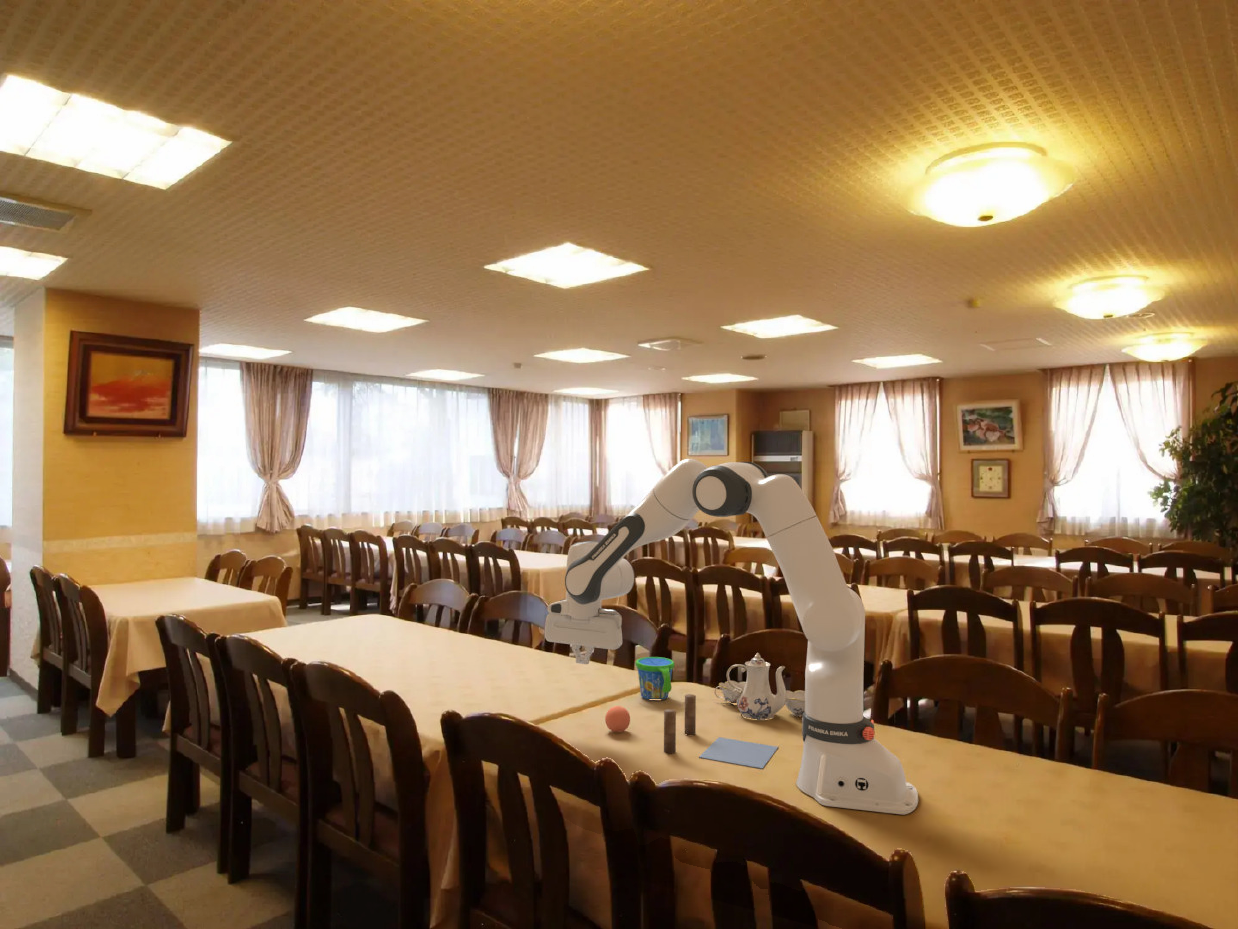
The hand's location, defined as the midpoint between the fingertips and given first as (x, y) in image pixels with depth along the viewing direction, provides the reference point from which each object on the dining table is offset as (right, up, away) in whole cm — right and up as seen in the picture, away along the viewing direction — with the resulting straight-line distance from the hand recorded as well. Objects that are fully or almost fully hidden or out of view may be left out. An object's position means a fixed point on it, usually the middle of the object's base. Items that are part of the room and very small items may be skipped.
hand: (582, 663), depth 180 cm
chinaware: (+46, -16, +11) cm, 50 cm away
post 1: (+20, -15, -17) cm, 31 cm away
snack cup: (+19, -16, +24) cm, 34 cm away
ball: (+9, -12, -4) cm, 16 cm away
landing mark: (+36, -15, -17) cm, 43 cm away
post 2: (+26, -15, -6) cm, 31 cm away
